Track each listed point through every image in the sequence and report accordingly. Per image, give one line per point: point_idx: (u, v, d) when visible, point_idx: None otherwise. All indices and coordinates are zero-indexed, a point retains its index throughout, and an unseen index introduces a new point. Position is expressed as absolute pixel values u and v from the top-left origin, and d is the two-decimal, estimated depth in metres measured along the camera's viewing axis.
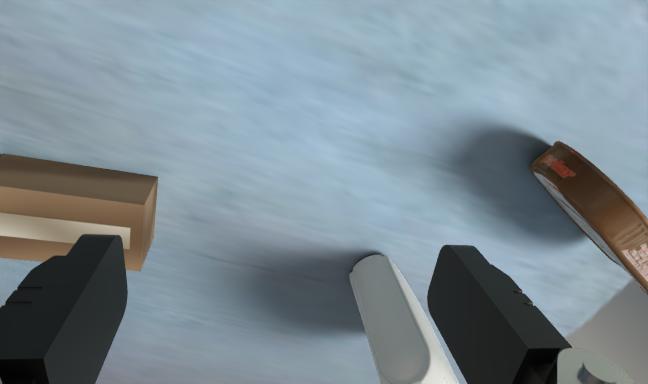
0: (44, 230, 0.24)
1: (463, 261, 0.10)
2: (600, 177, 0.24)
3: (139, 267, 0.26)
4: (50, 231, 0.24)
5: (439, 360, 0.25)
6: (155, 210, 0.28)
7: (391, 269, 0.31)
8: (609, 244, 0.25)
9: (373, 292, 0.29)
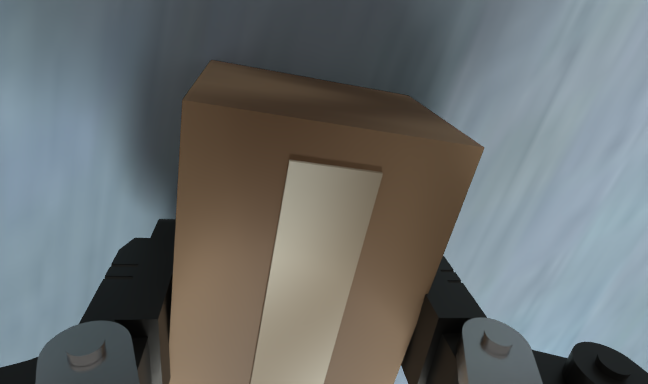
0: (297, 302, 0.08)
1: None
2: None
3: None
4: (295, 318, 0.08)
5: None
6: None
7: None
8: None
9: None
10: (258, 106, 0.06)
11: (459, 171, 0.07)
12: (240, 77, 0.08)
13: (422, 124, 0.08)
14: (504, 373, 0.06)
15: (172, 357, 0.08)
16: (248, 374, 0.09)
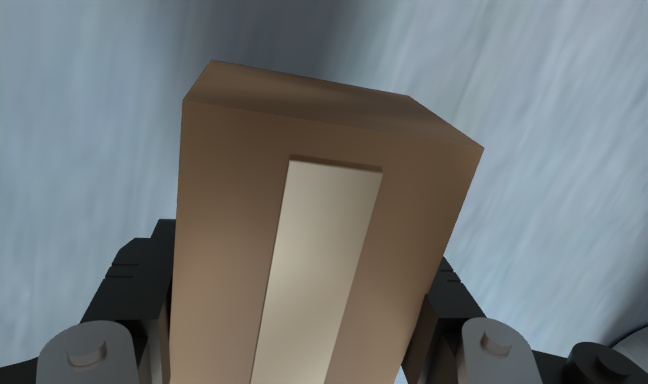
0: (297, 302, 0.08)
1: None
2: None
3: None
4: (295, 318, 0.08)
5: None
6: None
7: None
8: None
9: None
10: (258, 106, 0.06)
11: (459, 171, 0.07)
12: (240, 77, 0.08)
13: (422, 124, 0.08)
14: (504, 373, 0.06)
15: (172, 357, 0.08)
16: (248, 375, 0.09)
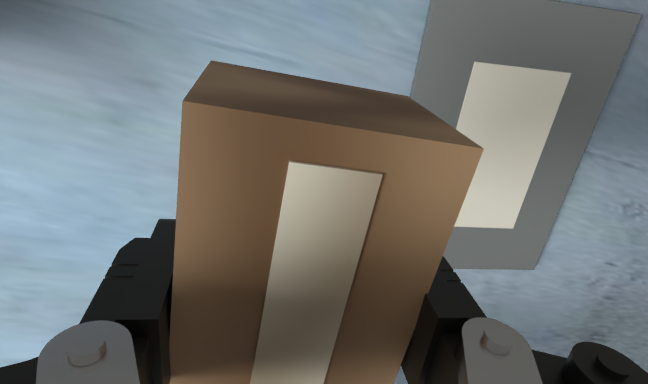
0: (298, 303, 0.08)
1: None
2: None
3: None
4: (295, 319, 0.08)
5: None
6: None
7: None
8: None
9: None
10: (258, 107, 0.06)
11: (459, 172, 0.07)
12: (240, 78, 0.08)
13: (422, 125, 0.08)
14: (504, 373, 0.06)
15: (172, 357, 0.08)
16: (248, 375, 0.09)
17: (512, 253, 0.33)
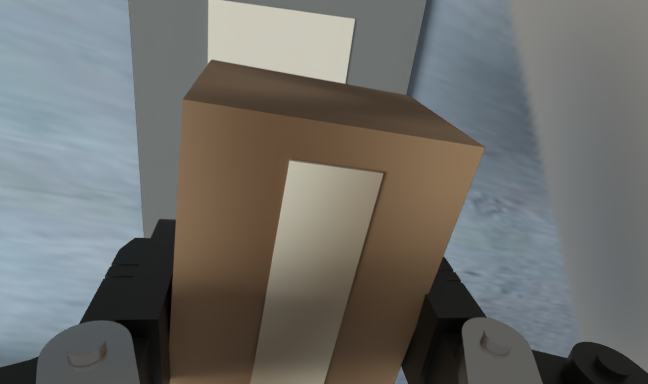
0: (298, 302, 0.08)
1: None
2: None
3: None
4: (296, 318, 0.08)
5: None
6: None
7: None
8: None
9: None
10: (258, 106, 0.06)
11: (460, 171, 0.07)
12: (240, 77, 0.08)
13: (423, 124, 0.08)
14: (504, 373, 0.06)
15: (172, 357, 0.08)
16: (249, 375, 0.09)
17: None
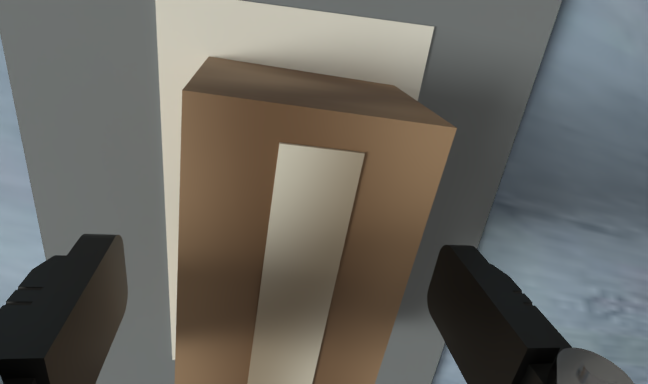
0: (292, 275, 0.09)
1: (463, 261, 0.10)
2: None
3: None
4: (291, 290, 0.09)
5: None
6: None
7: None
8: None
9: None
10: (249, 95, 0.07)
11: (435, 150, 0.08)
12: (235, 71, 0.09)
13: (402, 109, 0.08)
14: None
15: (179, 328, 0.09)
16: (250, 344, 0.09)
17: None
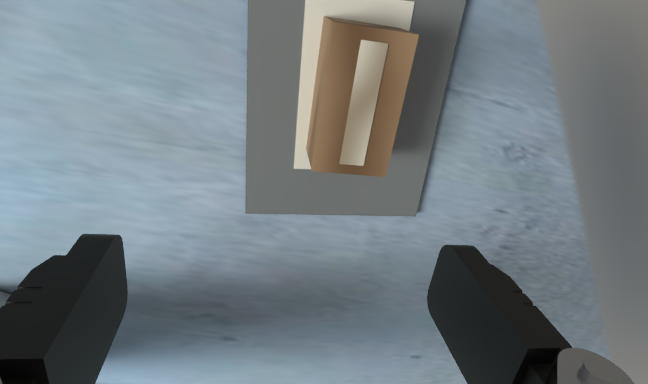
0: (362, 92, 0.24)
1: (463, 261, 0.10)
2: None
3: (316, 170, 0.26)
4: (361, 98, 0.24)
5: None
6: None
7: None
8: None
9: None
10: (351, 24, 0.22)
11: (412, 42, 0.23)
12: (339, 19, 0.24)
13: (401, 30, 0.24)
14: None
15: (321, 114, 0.24)
16: (345, 124, 0.25)
17: (389, 198, 0.33)
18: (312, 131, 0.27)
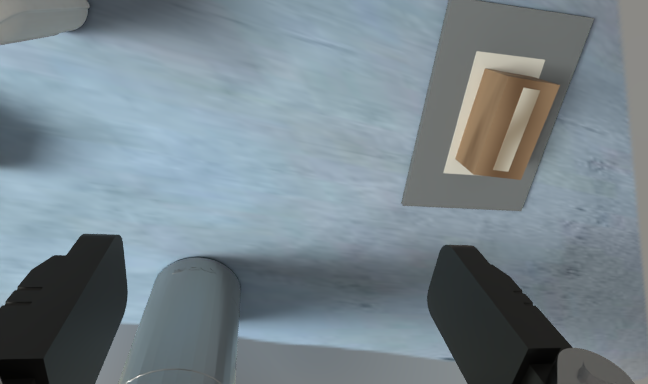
0: (517, 122, 0.36)
1: (463, 261, 0.10)
2: None
3: (476, 174, 0.37)
4: (516, 126, 0.36)
5: None
6: None
7: (48, 35, 0.30)
8: None
9: (60, 28, 0.28)
10: (518, 77, 0.34)
11: (554, 90, 0.35)
12: (501, 72, 0.36)
13: (545, 81, 0.35)
14: None
15: (488, 135, 0.36)
16: (502, 142, 0.36)
17: (504, 197, 0.44)
18: (470, 146, 0.38)
